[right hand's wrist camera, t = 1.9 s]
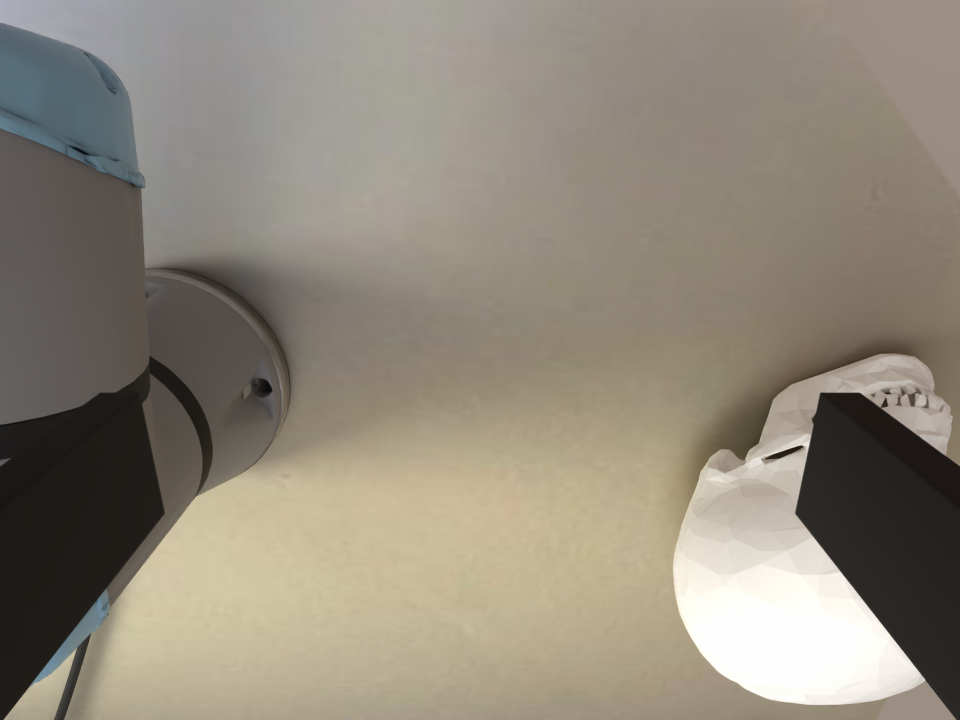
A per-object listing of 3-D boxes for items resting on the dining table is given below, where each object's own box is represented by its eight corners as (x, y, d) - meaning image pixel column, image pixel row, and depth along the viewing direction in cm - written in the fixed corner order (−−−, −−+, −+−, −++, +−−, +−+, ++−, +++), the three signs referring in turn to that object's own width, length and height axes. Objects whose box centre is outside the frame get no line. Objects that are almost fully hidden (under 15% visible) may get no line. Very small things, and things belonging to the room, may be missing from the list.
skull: (972, 393, 43) (1213, 534, 28) (757, 612, 50) (859, 817, 35) (817, 290, 41) (987, 383, 26) (616, 532, 48) (661, 713, 33)
